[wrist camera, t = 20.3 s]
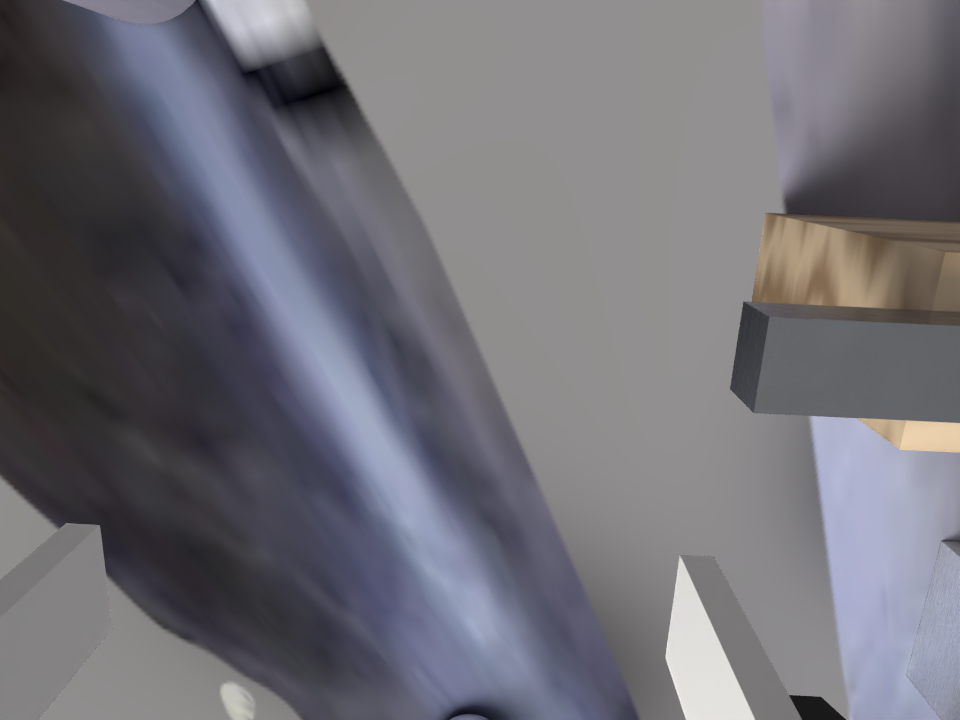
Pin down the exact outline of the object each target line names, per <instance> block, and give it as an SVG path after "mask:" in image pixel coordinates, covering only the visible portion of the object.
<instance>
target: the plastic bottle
mask: <svg viewBox="0 0 960 720" xmlns="http://www.w3.org/2000/svg"><path fill="white" fill-rule="evenodd" d="M450 720H488V719H487V718H485V717H483V716H480V715H476V714H463V715H458V716H456V717H453V718H451V719H450Z"/></svg>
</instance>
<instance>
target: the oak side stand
mask: <svg viewBox="0 0 960 720" xmlns="http://www.w3.org/2000/svg"><path fill="white" fill-rule="evenodd" d="M752 302H765V303H786V304H807V305H828V306H849V307H870V308H891V309H912V310H932V311H953V312H960V222H951V221H929V220H907V219H885V218H863V217H842V216H820V215H798V214H774V213H766V214H765V220H764V226H763V233H762V239H761V245H760V252H759V258H758V264H757V271H756V277H755V284H754V290H753V296H752ZM857 419H859V420H860V421H862V422H863V423H864V424H866V425H867V426H868V427H870V428H871V429H872V430H874V431H875V432H877V433H878V434H879V435H881V436H882V437H883V438H885V439H886V440H887V441H889V442H890V443H892V444H893V445H894V446H896V447H897V448H898V449H900V450H920V451H941V452H960V423H947V422H927V421H907V420H887V419H866V418H857Z"/></svg>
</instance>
